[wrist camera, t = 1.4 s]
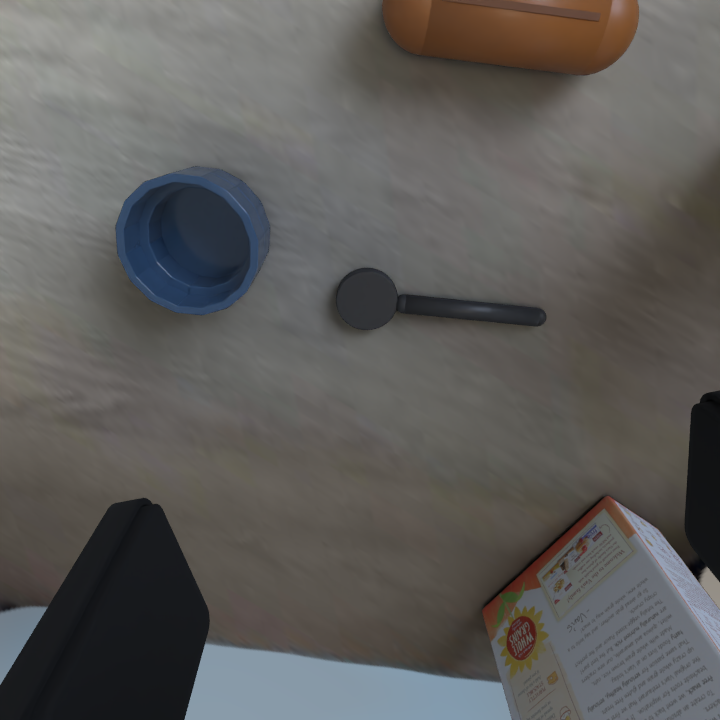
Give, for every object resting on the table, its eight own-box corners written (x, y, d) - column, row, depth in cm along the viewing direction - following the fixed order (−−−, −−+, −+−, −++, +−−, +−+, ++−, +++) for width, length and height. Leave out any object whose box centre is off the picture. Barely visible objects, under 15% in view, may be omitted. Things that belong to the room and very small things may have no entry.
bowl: (152, 282, 31) (121, 307, 27) (145, 159, 28) (110, 166, 24) (268, 293, 32) (256, 320, 27) (273, 173, 29) (260, 183, 25)
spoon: (334, 322, 32) (333, 329, 31) (339, 264, 31) (338, 269, 30) (535, 342, 33) (541, 349, 32) (550, 286, 32) (556, 291, 31)
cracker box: (533, 637, 44) (671, 1032, 25) (477, 606, 43) (580, 1003, 23) (664, 528, 39) (955, 910, 20) (607, 490, 38) (865, 865, 19)
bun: (375, 54, 27) (379, 43, 23) (385, -44, 25) (391, -72, 21) (600, 82, 27) (639, 77, 24) (625, -11, 26) (670, -33, 22)
